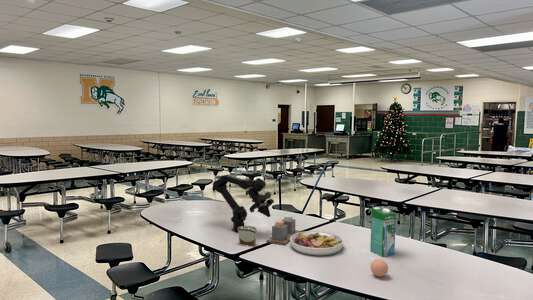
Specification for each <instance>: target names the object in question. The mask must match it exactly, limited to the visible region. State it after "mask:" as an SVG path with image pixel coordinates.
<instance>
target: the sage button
mask: <svg viewBox="0 0 533 300" xmlns="http://www.w3.org/2000/svg"><path fill="white" fill-rule="evenodd" d="M283 219H284V221H292V219H293V215H288V214H285V216H284V218H283Z"/></svg>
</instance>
